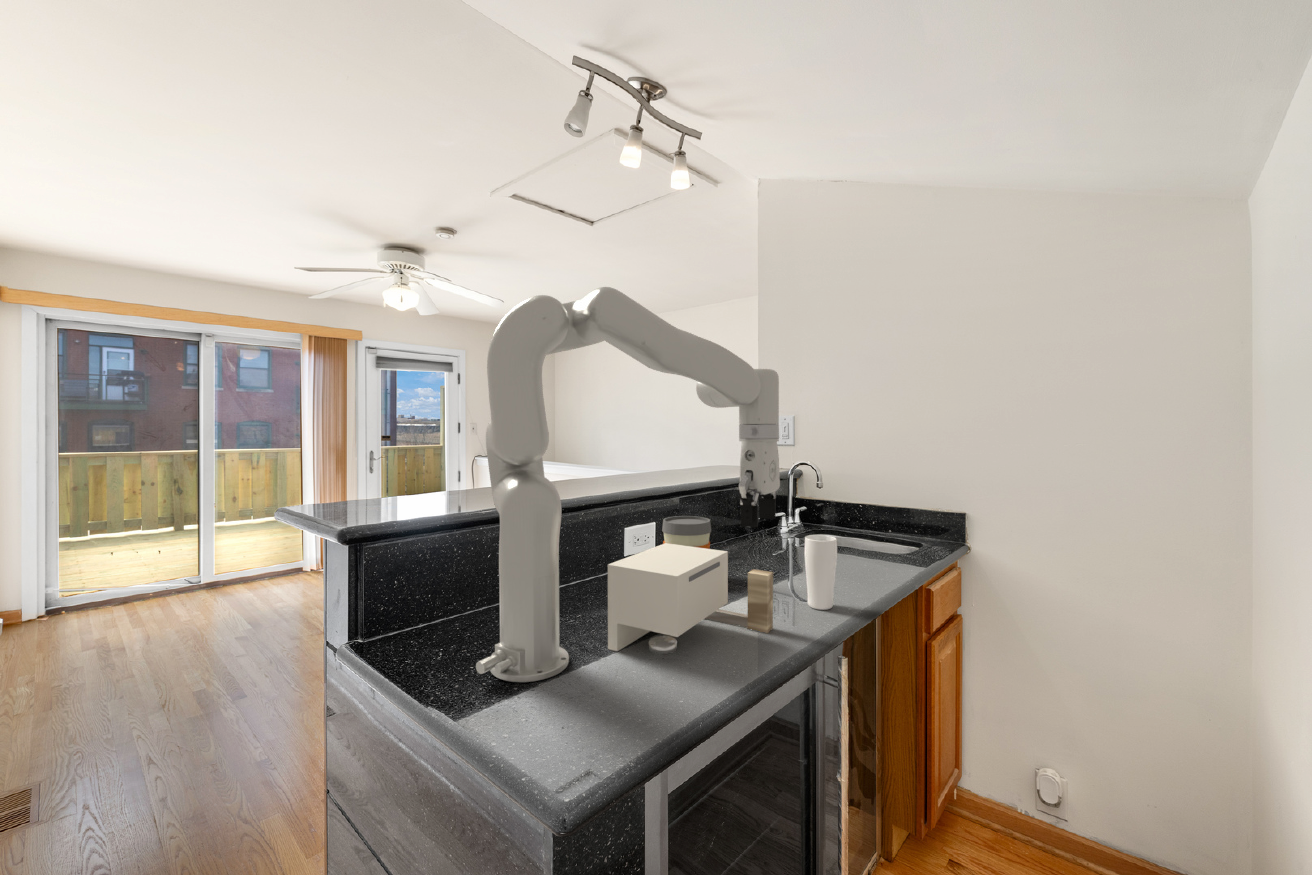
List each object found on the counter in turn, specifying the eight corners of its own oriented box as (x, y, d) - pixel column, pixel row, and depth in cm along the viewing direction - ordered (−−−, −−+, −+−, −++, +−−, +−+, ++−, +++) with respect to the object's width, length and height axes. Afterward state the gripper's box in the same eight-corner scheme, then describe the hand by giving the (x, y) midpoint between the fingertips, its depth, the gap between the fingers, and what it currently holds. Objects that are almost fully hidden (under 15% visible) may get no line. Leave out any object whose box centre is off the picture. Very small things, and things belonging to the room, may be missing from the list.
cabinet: (678, 667, 90) (678, 576, 89) (607, 648, 97) (607, 564, 97) (728, 628, 107) (728, 551, 106) (665, 614, 114) (665, 543, 114)
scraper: (767, 633, 104) (767, 575, 104) (683, 615, 114) (683, 563, 113) (772, 628, 107) (773, 572, 107) (690, 611, 116) (690, 559, 116)
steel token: (668, 657, 94) (668, 649, 94) (643, 651, 97) (643, 642, 97) (682, 647, 98) (682, 639, 98) (658, 641, 101) (658, 633, 101)
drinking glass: (808, 599, 124) (809, 533, 124) (839, 604, 121) (840, 536, 120) (800, 608, 118) (800, 538, 118) (832, 614, 115) (833, 542, 114)
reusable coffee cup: (697, 588, 132) (697, 526, 132) (652, 580, 139) (652, 521, 139) (719, 575, 143) (719, 518, 143) (677, 569, 150) (677, 514, 149)
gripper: (761, 435, 97) (761, 532, 97) (791, 432, 111) (791, 517, 112) (722, 434, 101) (722, 528, 101) (756, 432, 115) (756, 514, 116)
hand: (758, 522), depth 107 cm, fingers open, 9 cm apart
